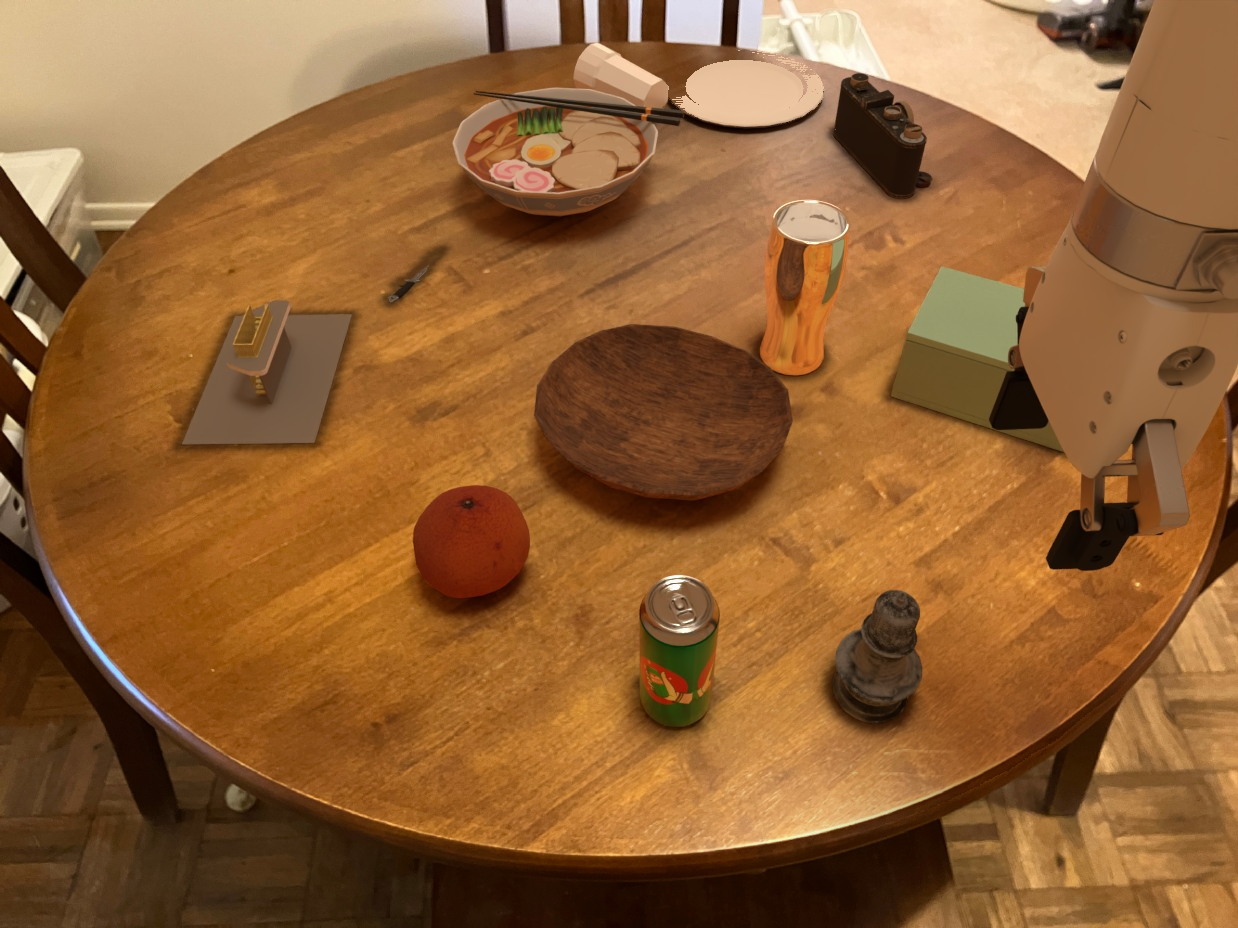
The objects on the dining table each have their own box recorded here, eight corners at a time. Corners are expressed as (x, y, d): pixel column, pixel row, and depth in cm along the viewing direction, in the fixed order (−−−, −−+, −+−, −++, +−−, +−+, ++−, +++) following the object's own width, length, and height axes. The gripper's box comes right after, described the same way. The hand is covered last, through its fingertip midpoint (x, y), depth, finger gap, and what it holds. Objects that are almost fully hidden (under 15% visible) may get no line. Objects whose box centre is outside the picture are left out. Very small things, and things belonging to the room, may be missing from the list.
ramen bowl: (418, 231, 108) (405, 165, 102) (499, 131, 122) (491, 68, 116) (632, 271, 102) (631, 204, 96) (690, 161, 117) (692, 96, 111)
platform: (181, 444, 86) (153, 391, 82) (235, 315, 98) (214, 262, 94) (314, 442, 86) (294, 389, 81) (352, 314, 98) (337, 261, 93)
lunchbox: (1088, 378, 90) (1115, 321, 85) (1066, 453, 84) (1093, 396, 79) (923, 329, 95) (939, 273, 90) (890, 396, 89) (905, 340, 84)
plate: (850, 85, 129) (852, 72, 128) (776, 154, 118) (777, 141, 117) (715, 48, 137) (715, 36, 136) (634, 109, 126) (634, 96, 125)
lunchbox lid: (1121, 322, 85) (1138, 286, 82) (1099, 398, 78) (1117, 361, 75) (939, 272, 90) (949, 236, 87) (905, 339, 84) (915, 303, 81)
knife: (440, 250, 106) (439, 246, 106) (453, 254, 105) (453, 250, 105) (380, 301, 100) (379, 298, 100) (394, 306, 99) (393, 302, 99)
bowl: (727, 569, 76) (732, 530, 72) (495, 471, 84) (489, 431, 80) (819, 414, 88) (827, 373, 84) (608, 339, 95) (606, 298, 91)
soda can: (693, 657, 71) (700, 559, 62) (722, 716, 68) (734, 622, 59) (629, 680, 70) (626, 584, 61) (656, 741, 67) (658, 649, 58)
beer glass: (795, 390, 90) (816, 255, 78) (739, 353, 93) (753, 220, 82) (842, 355, 93) (870, 221, 82) (787, 321, 96) (806, 189, 85)
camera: (941, 191, 111) (958, 126, 105) (889, 202, 110) (903, 137, 104) (873, 123, 122) (885, 60, 116) (825, 132, 121) (834, 70, 115)
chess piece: (874, 743, 66) (910, 651, 57) (810, 684, 69) (835, 588, 60) (929, 693, 69) (971, 597, 60) (865, 639, 72) (896, 540, 63)
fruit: (504, 509, 81) (493, 443, 75) (550, 586, 75) (542, 521, 69) (403, 550, 78) (384, 485, 72) (444, 633, 73) (426, 570, 67)
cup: (634, 101, 118) (568, 68, 122) (644, 137, 124) (581, 105, 128) (667, 62, 119) (600, 31, 123) (676, 100, 125) (612, 70, 129)
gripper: (1389, 355, 33) (1182, 625, 46) (1177, 107, 45) (1059, 377, 58) (1173, 363, 33) (1026, 631, 46) (1017, 113, 45) (934, 382, 58)
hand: (1044, 490), depth 52 cm, fingers open, 9 cm apart
